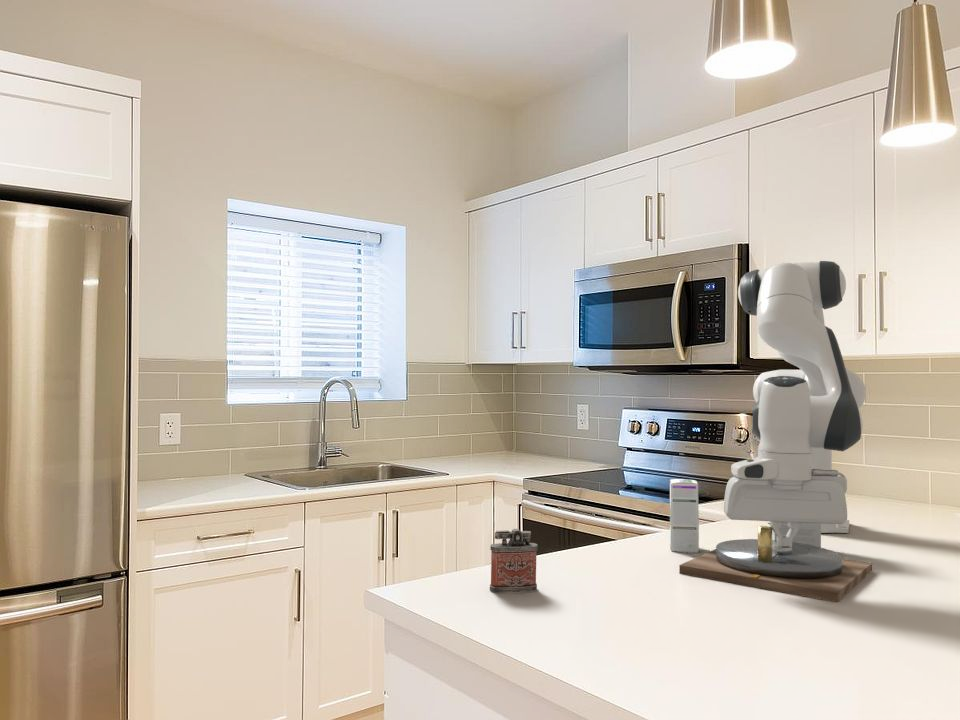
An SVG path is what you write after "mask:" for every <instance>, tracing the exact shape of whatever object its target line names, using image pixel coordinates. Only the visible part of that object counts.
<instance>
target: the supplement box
mask: <svg viewBox="0 0 960 720" xmlns="http://www.w3.org/2000/svg"><path fill="white" fill-rule="evenodd" d="M769 527H771V526H770V525H769ZM789 529H790V527H789V526H788V522H781V528H778V530H779V531H780V533H781V535H782V536H786V534H787V533H788V531H789ZM772 540H777V536H776V535H775V533H774V531H773V530H772ZM792 542H795V543H802V544H807V545H812V546H817V547H821V548H822V533H821V523H799V530H798V531H797V533H796V534H795V536H794V537H793V538H792Z"/></svg>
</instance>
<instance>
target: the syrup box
mask: <svg viewBox="0 0 960 720" xmlns="http://www.w3.org/2000/svg"><path fill="white" fill-rule="evenodd" d="M699 515H700V514H699V483H698V482H697V480H695V479H687V478H677V479H676V478H675V479H669V547H670V551H671V552H675V551H676V553H677V552H678V553H687V552H688V553H689V554H690V553H691V554H699V549H700V548H699V547H700V546H699V545H700V544H699V543H700V542H699V540H700V536H699V535H700V532H699V530H700V529H699V527H700V524H699V521H700V519H699V518H700V517H699ZM688 553H687V554H688Z"/></svg>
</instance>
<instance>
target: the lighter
mask: <svg viewBox="0 0 960 720" xmlns="http://www.w3.org/2000/svg"><path fill="white" fill-rule="evenodd" d="M531 538H532V532H531V531H530V530H522V531H521V530H520V529H518V528H513V529H512V530H511V531H509V530H496V531H495V532H494V539H495V540H501V542H498V543H491V544H490V546H489V547H490V549H489V550H490V552H491V554H490V555H491V556H490V559H491V560H490V561H491V562H490V563H491V565H490V584H489V591H490V592H491V593H497V594H501V593H502V594H503V593H504V594H506V593H507V594H509V593H510V594H513V593H514V594H516V593H517V594H518V593H529V592H536V591H537V590H538V584H537V551H538V548H539V547H538V544H537V543H535V542H530V541H531Z"/></svg>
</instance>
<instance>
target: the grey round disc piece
mask: <svg viewBox="0 0 960 720" xmlns="http://www.w3.org/2000/svg"><path fill="white" fill-rule="evenodd" d="M715 549H716V559H717V560H718V561H719V562H721V563H722V564H725V565H727V566H730V567H732V568H736V569H739V570H743V571H748V572H752V573H758V574H764V575H771V576H780V577H794V578H819V577H828V576H834V575H837V574H839V573H841V572H842V568H843V559H844V558H843V556H842V555H840V554H839V553H837V552H835V551H833V550H831V549H827V548H824V547H822V546H821V547H817V546H812V545H807V544H802V543H795V542H792V548H779V547H778V546H777V540H772V528H771V527H770V525H769V526H768V525H758V526H757V538H755V539H754V538H747V539H746V538H745V539H744V538H743V539H731V540H730V539H729V540H725V541H721V542H719V543H717V544H716V546H715Z"/></svg>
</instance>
